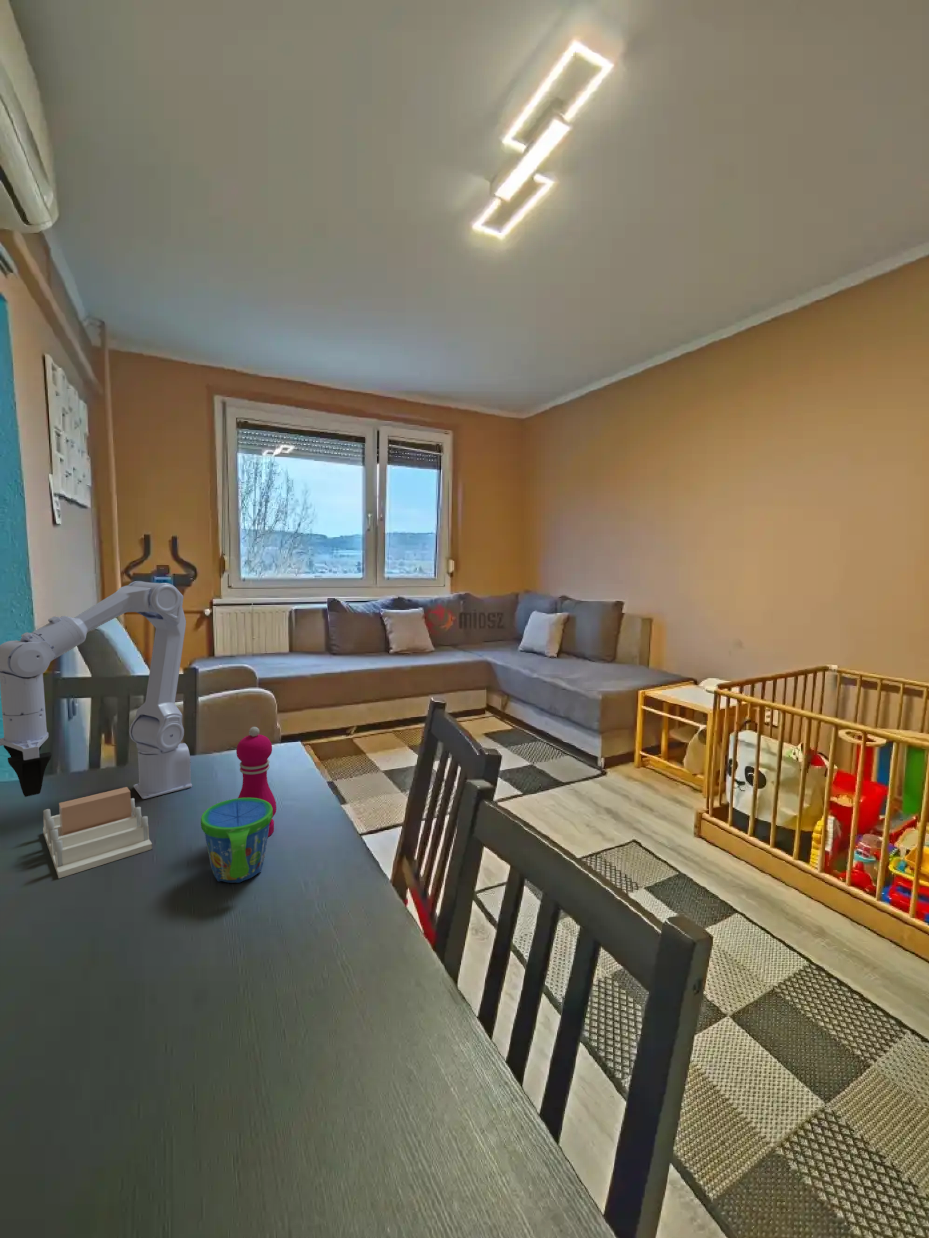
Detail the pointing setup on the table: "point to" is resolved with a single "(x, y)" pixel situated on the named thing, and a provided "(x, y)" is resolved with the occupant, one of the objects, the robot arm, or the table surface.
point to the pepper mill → (256, 768)
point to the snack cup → (237, 837)
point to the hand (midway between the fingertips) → (29, 787)
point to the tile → (94, 810)
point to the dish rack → (95, 842)
